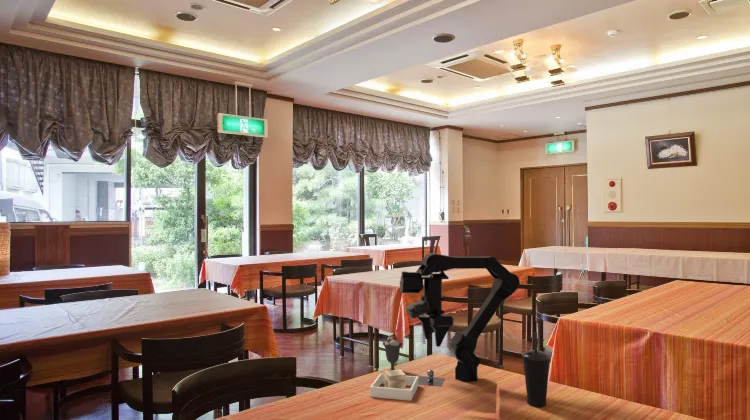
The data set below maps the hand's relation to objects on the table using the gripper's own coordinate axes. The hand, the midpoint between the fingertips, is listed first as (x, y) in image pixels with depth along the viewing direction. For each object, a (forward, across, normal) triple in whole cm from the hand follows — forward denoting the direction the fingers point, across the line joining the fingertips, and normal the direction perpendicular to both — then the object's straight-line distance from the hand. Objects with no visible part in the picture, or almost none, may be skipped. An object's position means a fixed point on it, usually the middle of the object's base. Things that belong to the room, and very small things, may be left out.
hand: (432, 342), depth 150 cm
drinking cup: (+13, +23, +22) cm, 34 cm away
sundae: (+13, -14, -9) cm, 21 cm away
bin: (+13, +6, -14) cm, 20 cm away
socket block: (+13, +6, -14) cm, 20 cm away
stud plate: (+13, 0, -1) cm, 13 cm away
